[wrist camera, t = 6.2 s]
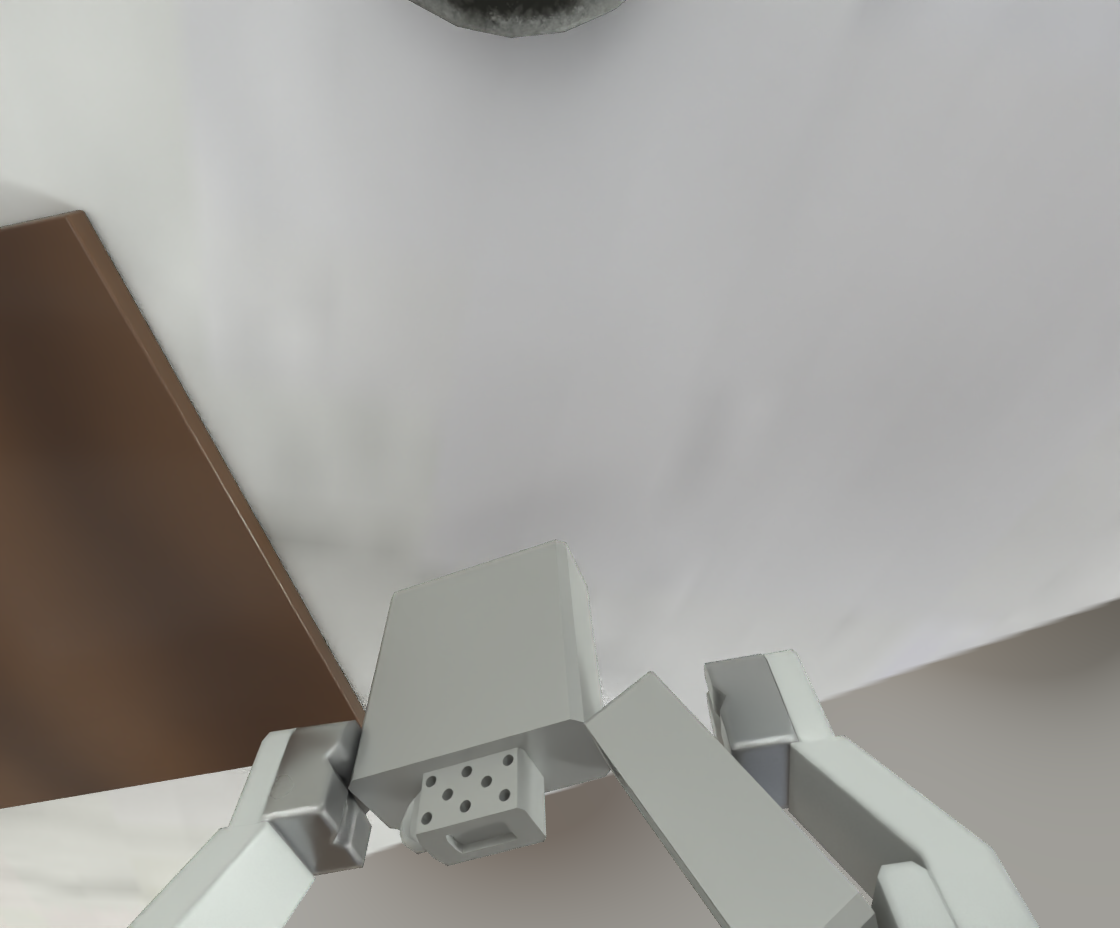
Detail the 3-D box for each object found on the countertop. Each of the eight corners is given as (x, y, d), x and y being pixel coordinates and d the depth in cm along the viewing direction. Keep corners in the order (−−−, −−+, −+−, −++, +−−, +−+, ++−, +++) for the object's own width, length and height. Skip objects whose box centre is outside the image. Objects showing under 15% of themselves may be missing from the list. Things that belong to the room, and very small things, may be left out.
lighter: (424, 643, 15) (347, 1134, 8) (387, 594, 14) (265, 1102, 7) (717, 552, 14) (911, 1026, 7) (699, 492, 13) (902, 973, 6)
